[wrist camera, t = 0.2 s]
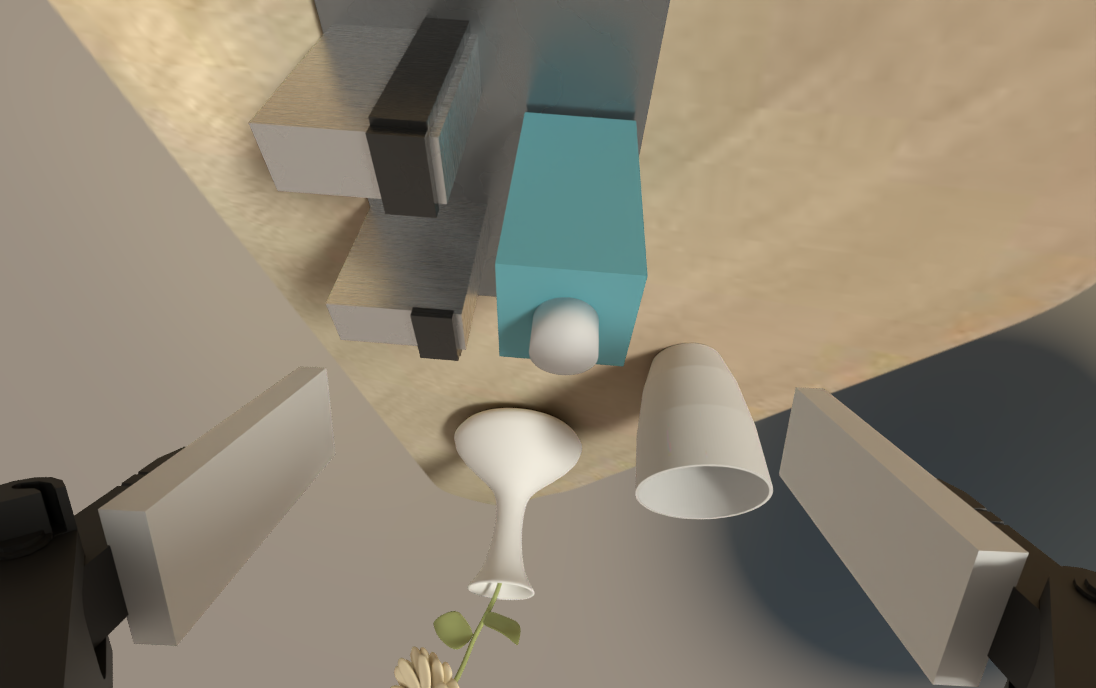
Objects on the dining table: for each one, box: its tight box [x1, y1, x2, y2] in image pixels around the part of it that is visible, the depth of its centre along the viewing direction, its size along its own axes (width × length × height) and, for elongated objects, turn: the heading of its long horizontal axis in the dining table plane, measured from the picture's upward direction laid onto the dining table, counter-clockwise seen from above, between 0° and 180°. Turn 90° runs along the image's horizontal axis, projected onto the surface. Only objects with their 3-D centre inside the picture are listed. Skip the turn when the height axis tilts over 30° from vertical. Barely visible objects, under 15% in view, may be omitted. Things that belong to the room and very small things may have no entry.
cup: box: [635, 343, 773, 519], centre depth 35 cm, size 8×8×10 cm
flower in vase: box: [391, 408, 582, 688], centre depth 40 cm, size 13×11×25 cm
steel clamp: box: [249, 0, 670, 361], centre depth 23 cm, size 20×14×9 cm
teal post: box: [495, 112, 647, 375], centre depth 22 cm, size 5×5×12 cm
